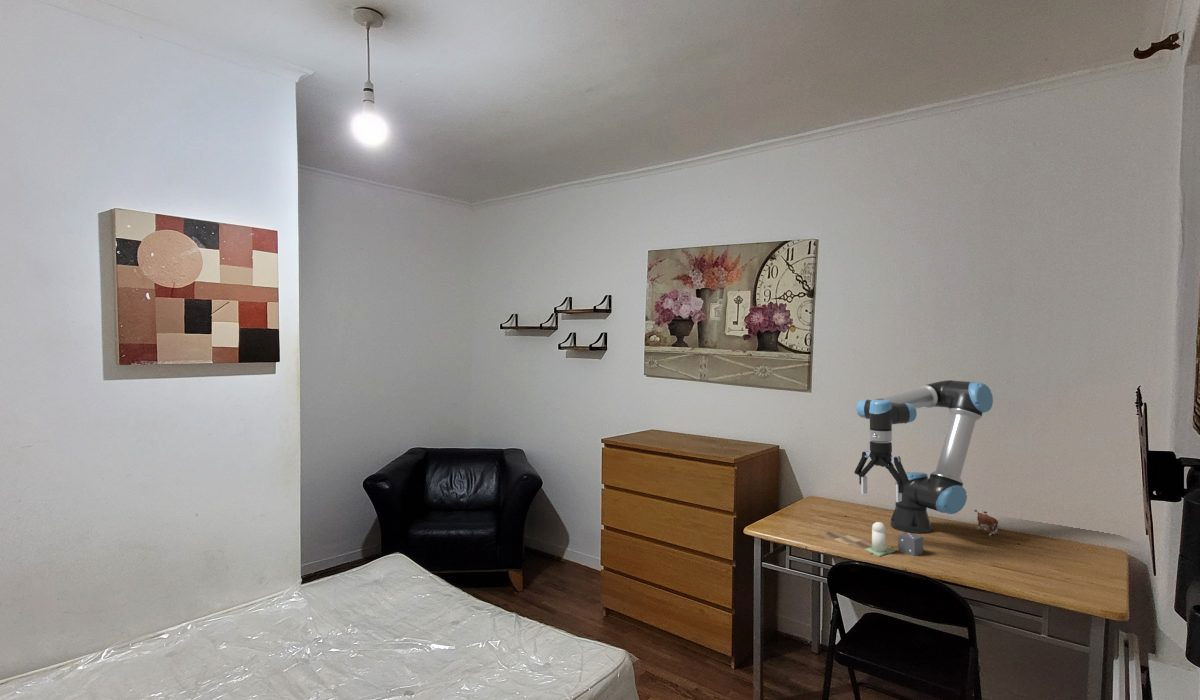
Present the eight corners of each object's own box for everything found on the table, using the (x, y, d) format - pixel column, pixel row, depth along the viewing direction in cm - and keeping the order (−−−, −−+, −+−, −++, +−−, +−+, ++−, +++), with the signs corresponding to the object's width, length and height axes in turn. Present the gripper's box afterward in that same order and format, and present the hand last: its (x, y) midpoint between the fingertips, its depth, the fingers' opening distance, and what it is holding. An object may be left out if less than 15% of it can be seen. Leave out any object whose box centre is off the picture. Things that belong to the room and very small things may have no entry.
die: (906, 548, 224) (907, 531, 224) (922, 553, 219) (923, 536, 219) (897, 551, 220) (898, 534, 220) (914, 556, 215) (914, 539, 215)
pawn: (876, 546, 222) (877, 519, 222) (888, 550, 219) (888, 522, 218) (869, 549, 220) (869, 521, 220) (880, 552, 216) (881, 524, 216)
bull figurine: (982, 526, 251) (982, 507, 251) (1000, 537, 237) (1000, 517, 237) (971, 526, 251) (971, 507, 251) (988, 536, 238) (989, 516, 238)
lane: (834, 532, 241) (834, 530, 241) (895, 551, 220) (895, 549, 220) (818, 536, 236) (818, 534, 236) (879, 556, 214) (879, 554, 214)
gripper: (844, 437, 231) (845, 492, 231) (908, 447, 210) (908, 506, 211) (856, 435, 235) (856, 488, 235) (919, 444, 214) (919, 503, 215)
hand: (881, 497), depth 223 cm, fingers open, 13 cm apart
